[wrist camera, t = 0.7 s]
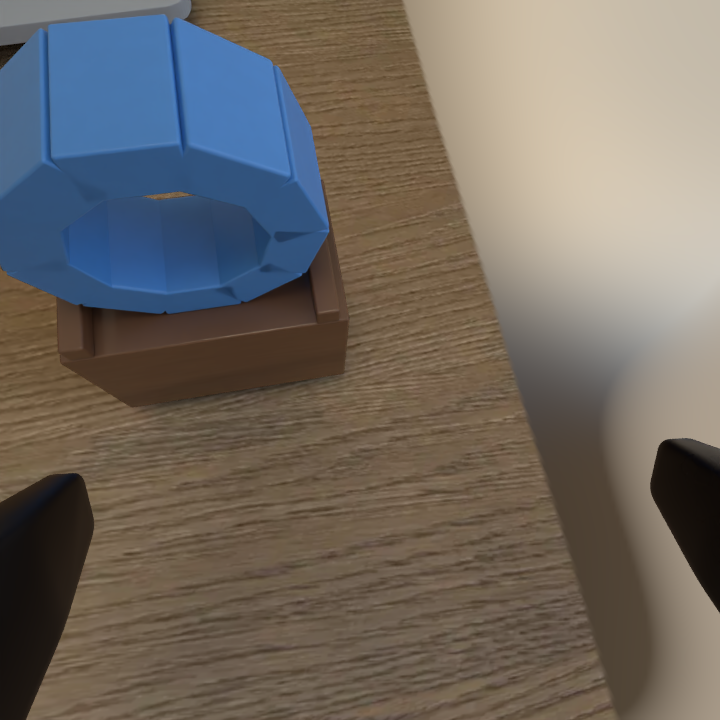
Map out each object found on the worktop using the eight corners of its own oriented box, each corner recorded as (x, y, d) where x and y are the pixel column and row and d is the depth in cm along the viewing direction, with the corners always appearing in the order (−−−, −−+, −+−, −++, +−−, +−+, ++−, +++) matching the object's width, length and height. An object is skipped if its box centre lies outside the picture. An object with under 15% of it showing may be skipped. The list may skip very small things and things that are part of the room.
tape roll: (329, 291, 17) (330, 126, 10) (74, 328, 16) (-117, 177, 9) (314, 206, 18) (305, -1, 11) (70, 237, 17) (-107, 35, 10)
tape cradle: (344, 374, 22) (351, 309, 16) (131, 408, 21) (45, 355, 15) (324, 263, 24) (323, 162, 17) (123, 291, 23) (41, 195, 16)
